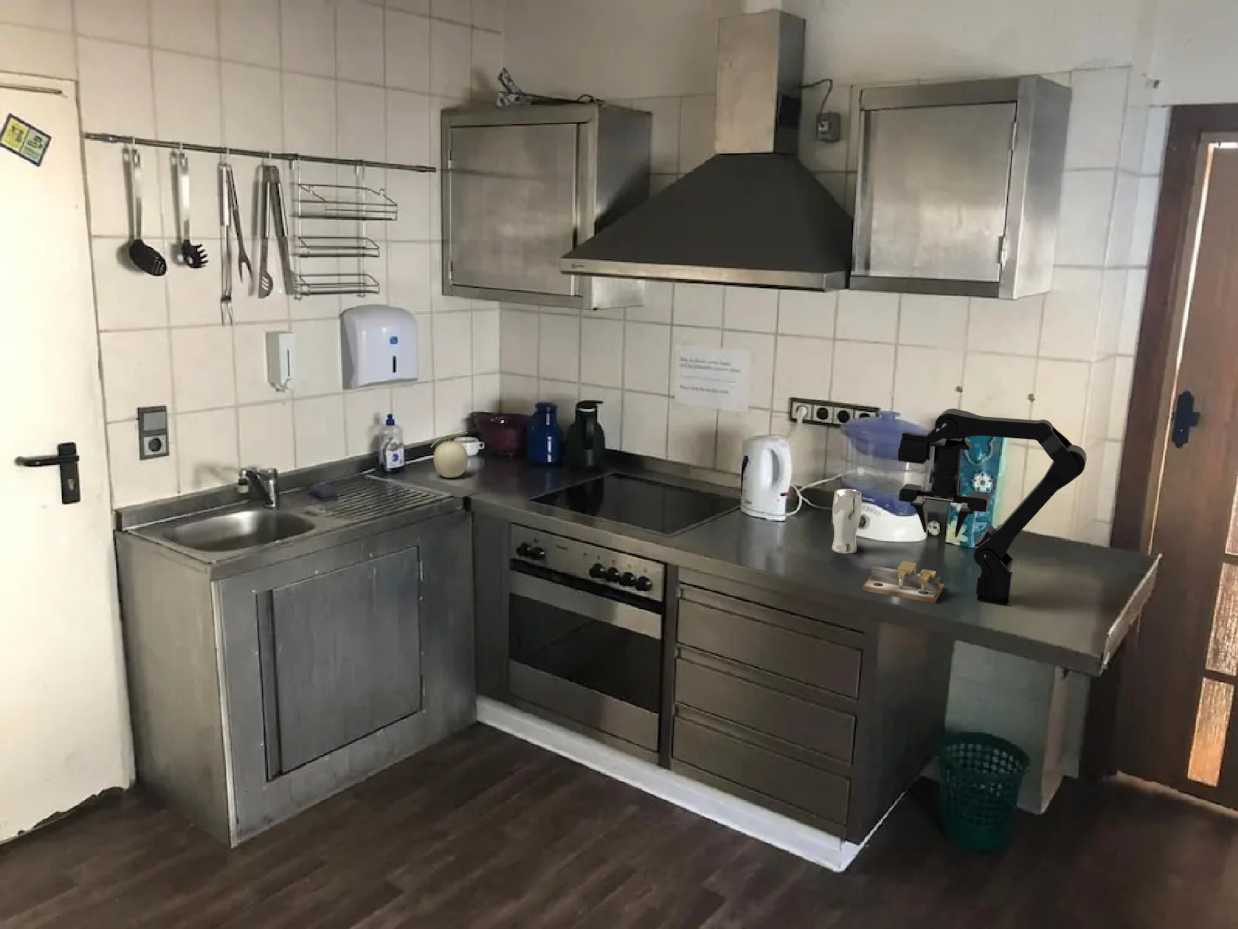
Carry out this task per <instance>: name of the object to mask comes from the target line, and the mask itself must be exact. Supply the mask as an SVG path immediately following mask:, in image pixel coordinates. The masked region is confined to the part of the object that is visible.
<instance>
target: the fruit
mask: <svg viewBox="0 0 1238 929" xmlns="http://www.w3.org/2000/svg"><path fill="white" fill-rule="evenodd" d="M464 434H468V431H465V432H455V433H450V434H446V435H444V436H441V437H440V438H439V439H437V440H436V441H434V442H433V443H432V444H431V446H430V448H431V449H432V448H433V446H434V445H435V444H436V443H437V442H439V441H440V440H443V439H445V438H447V441H443V442H441V443H440V444H438V446H436V448H435V450H434V452H433V465H434V468H435V470H436V471H437V473H438V474H440V476H442V477H444V478H448V479H449V478H450V479H451V478H452V479H453V478H458V477H461V475H463V473H464V472H465V471H466V470H467V467H468V464H469V456H468V453H467V452H468V451H467V449H466V448H465V445H463V444H462V443H460V442H459V441H457V440H452V439H451V437H453V436H457V435H464Z"/></svg>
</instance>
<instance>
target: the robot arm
mask: <svg viewBox="0 0 1238 929" xmlns="http://www.w3.org/2000/svg"><path fill="white" fill-rule="evenodd" d="M979 436H980V437H993V438H1005V439H1006V438H1007V439H1019V440H1030V441H1031V440H1033V441H1036V442H1037V443H1038V444H1039V446H1041V447H1042V449H1043V450H1044V452H1045V453H1046V454H1047V456H1048V457H1049V459H1051V460H1052V462H1051V463H1050V465H1049V467H1048V469H1047V471H1046V472H1045V474H1044V476H1043V477H1042V479H1041V480H1040V481H1039V482H1037V484H1036V485H1035V486H1034V488H1033V489H1031V491H1030V492H1029V493H1028V494H1027V495H1026V497H1025V498H1024V499H1023V500H1022V501H1021V502H1020V503H1019V504H1018V505H1017V507H1016V508H1014V510H1013V511H1012V512H1011V514H1009V516H1008V517H1007V518H1006V519H1005V520H1004V521H1003V522H1002V523H1001V524H1000V525H998V526H997V527H994V526H993V525H992V524H989V525H988V527H987V529H986V530H985V532H984V533H982V534H981V535H979V536H978V538H977V540H976V542H975V543H974V546H975V547H976V548H975V549H974V551H973V559H974V561H975V563H976V564H977V565H978V566H979V567H980V569H981V571H980V574H978V577H977V582H976V589H975V590H976V592H975V594H976V595H977V596H976V600H977V601H978V602H979V601H980V602H986V603H990V604H996V605H1003V606H1008V605H1009V603H1010V601H1011V598H1012V595H1013V594H1012V592H1011V591H1012V582H1013V575H1014V572H1013V571H1012V567H1013V564H1014V562H1015V559H1013V557H1012V556H1011V555H1010V553H1008V550H1009V548H1010V546H1012V544H1013V542H1014V540H1015V538H1016V537H1017V536H1018V535H1019V534H1020V533H1021V532H1022V531H1023V529H1024V528H1025V527H1026V526H1027V525H1028V524H1029V523H1030V522H1031V520H1032V519H1033V518H1034V517H1035V516H1036V515H1037V514H1038V513H1039V512H1040V510H1041V509H1043V507H1044V506H1045V505H1046V504H1047V503H1048V501H1049V500H1050V499H1051V498H1052V497H1053V496H1054V495H1055V494H1056V492H1058V491H1059V490H1061V489H1062V488H1063V487H1066V486H1067V485H1068V484H1071V482H1072V481H1074V480H1075V479H1077V478H1078V477H1079V476H1081V474H1083V473H1084V472H1083V471H1085V467H1086V463H1087V458H1088V457H1087V453H1086V452H1085V450H1084V448H1082V447H1081V446H1078V445H1076V444H1073V443H1072V442H1071V441H1070V440H1069V439H1068V438H1067V437H1066V436H1065V435H1064V434H1062V433H1061V432H1060V431H1059V430H1058V429H1056V428H1055V427H1054V425H1053V424H1052V423H1051V422H1050V421H1049V420H1047V419H1024V418H1022V419H1021V418H1011V417H1010V418H1007V417H994V416H984V415H983V416H982V415H980V414H976V413H973V412H971V411H967V410H963V409H957V408H948V409H945V410H944V411H942V412H941V414H940V415H939V416H938V417H937V418H936V419H935V423H934V429H930V431H928V432H927V434H926V433H925V434H924V433H916V432H911V431H903V432H902V433H901V438H900V443H899V447H898V449H897V460H898V462H899V463H900V462H901V463H908V464H915V465H926V463H927V461H930V462H931V461H932V457H933V461H932V462H933V464H932V468H931V470H930V474H929V479H928V483H930V484H931V487H930V490H923V488H922V485H921V484H914V483H913V484H912V483H905V484H904V485H903V486H902V487H901V488H900V489H899V491H898V501H899V502H904V503H905V502H906V503H909V506H910V507H913V508H914V510H915V512H916V513H917V516H918V518H919V521H920V524H921V527H922V530H923V533H925V534H926V533H927V531H928V525H929V524H928V505H929V504H928V503H929V501H930V500H931V501H936V502H945V503H952V504H959V505H961V507H960V509H959V511H958V517H957V520H956V526H955V529H954V538H958V536H959V534H960V532H961V529H962V527H963V525H964V522H965V520H966V519H967V517H968V515H974V513H975V512H978V513H980V512H981V513H986V512H987V511H988V509H989V508H990V504H991V496H990V495H989V493H983V492H976V491H971V493H970V494H969V495H963V494H960V493H961V492H962V491H961V490H962V483H963V477H962V476H961V475H960V474H961V466H962V456H963V455H962V454H963V451H970V449H971V448H972V447H973V444H972V443H971V442H970V441H969V440H968V439H967V438H971V437H972V438H973V437H979ZM943 439H945V441H942V440H943ZM933 450H934V451H933Z"/></svg>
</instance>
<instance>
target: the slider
mask: <svg viewBox="0 0 1238 929" xmlns="http://www.w3.org/2000/svg"><path fill="white" fill-rule="evenodd" d="M896 570H897V572H899V573H898V579H899V588H903V579H905V577H906V576H907V574H911V573H912V572H913V573H917V572H916V570H917V562H912V561H906V560H905V561H904V560H902V561H901V562H900V564H899V566H898V567H897V569H896Z"/></svg>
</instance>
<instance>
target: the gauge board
mask: <svg viewBox="0 0 1238 929" xmlns="http://www.w3.org/2000/svg"><path fill="white" fill-rule="evenodd" d="M898 573H899V572H897V569H894V568H889V567H888V568H887V567H883V566H876V565H872V566H871V568H870V576H869V578H868V579H867V580H866V581H865V583H864V584H863V585H862V590H861V591H865V592H870V593H873V594H874V593H876V594H882V595H886V596H891V597H897V598H904V599H909V600H914V601H919V602H924V603H932V604H936V603H937V601H938V599H939V598H940V596H941V594H942V592H943V591H944V588H945V584H944V583H941V580H940V579H941V576H937V571H935V570H929V569H924V568H923V569H921V571H920V573H919V572H915V573H913V572H912V573H911V574H907V576H906V577H905V579H903V588H899V579H898Z"/></svg>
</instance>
